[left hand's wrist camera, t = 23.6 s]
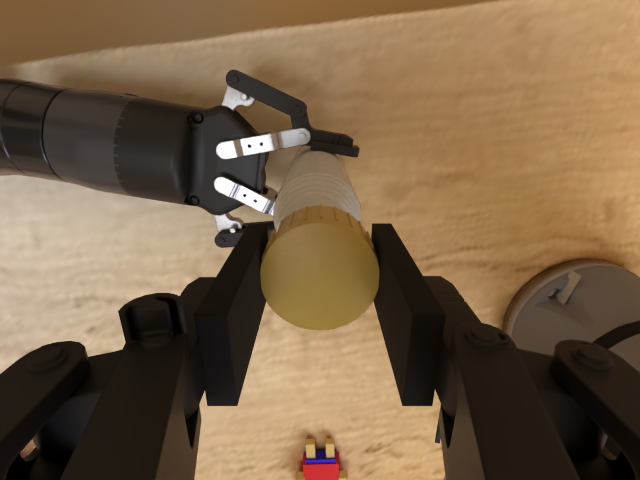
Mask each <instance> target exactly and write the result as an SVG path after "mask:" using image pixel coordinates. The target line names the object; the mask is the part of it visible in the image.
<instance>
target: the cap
mask: <svg viewBox="0 0 640 480" xmlns="http://www.w3.org/2000/svg"><path fill="white" fill-rule="evenodd" d="M379 273H380V269H379V264H378V259H377V256H376V253H375V251H374V246H373V243H372V241H371V238H370V235H369V233H368V231H367V232H366V231H365V229H364V227H363V226H362V224H361V222H360V221H358V220H356V219H355V218H354V217H353V216H351V215H350V213H349V212H348V213H347V212H345V211H343V210H340V209H338V208H337V207H330V206H322V205H320V206H310V207H307V206H305V208H302V209H299V210H297V211H295V212H294V211H293V212H292V213H291V214H290V215H288V216H287V217H286V218H284V219H283V220H282V219H281V220H280V223H279V224H278V226H277V227H276V229H275V230H273V231H272V233H271V235H270V238H269V241H268V243H267V245H266V248H265V251H264V253H263V256H262V263H261V268H260V277H261V289H262V292H263V295H264V297H265V299H266V301H267V303H268V304H269V306H270V307H271V308H272V309H273V311H274V312H276V313H277V314H278V315H279V316H280V317H281V318H283V319H284V320H286V321H287V322H289V323H291V324H293V325H296V326H298V327H302V328H305V329H311V330H329V329H334V328H338V327H342V326H344V325H347V324H349V323H351V322H352V321H354V320H356V319H357V318H358V317H360V316H361V315H362V314H363V313H364V312H365V311H366V310H367V309H368V308H369V307H370V305H371V304H372V302H373V301H374V299H375V296H376V294H377V291H378V287H379Z"/></svg>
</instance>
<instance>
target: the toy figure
mask: <svg viewBox="0 0 640 480" xmlns="http://www.w3.org/2000/svg"><path fill="white" fill-rule="evenodd" d="M296 480H348V477H347V470H339V456H338V452H335V450H334V438H327V439H326V450H315V439H306V453H303V472H296Z"/></svg>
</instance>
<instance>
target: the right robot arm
mask: <svg viewBox="0 0 640 480" xmlns="http://www.w3.org/2000/svg"><path fill="white" fill-rule="evenodd" d="M226 82H227V84H228V86H227V90H226V93H225V96H224V99H223V102H222V105H221V106H216V107H213V108H210V109H202V108H196V107H191V106H185V105H180V104H174V103H168V102H163V101H157V100H152V99H146V98H140V97H138V96H135V95H132V94H118V93H113V92H106V91H92V90H77V89H70V88H65V87H59V86H53V85H48V84H42V83H37V82H32V81H26V80H19V79H9V78H5V79H0V176H4V175H24V176H31V177H37V178H43V179H49V180H56V181H62V182H69V183H73V184H78V185H81V186H84V187H88V188H91V189H95V190H98V191H103V192H109V193H115V194H122V195H128V196H134V197H140V198H146V199H153V200H159V201H165V202H171V203H177V204H183V205H191V206H198V207H201V208H203V209H205V210H206V211H207V212H209V213H211V214H213V215H214V216H215V221H216V225H217V230H218V234H217V236H216V237H215V243H216V245H217V246H219V247H222V248H224V247H235V245H236V244H237V242H238V240H239V239H240V237H241V236H242V234H243V232H244V231H245V229H246V227H247V226H248V224H268V241H269V238H270V235H271V233H272V231H273V230H275V225H274V221H265V222H253V223H243V221H242V220H241V219H240V218H235V217H232V216H231V215H230V214H229V213H228V212H230V211H232V210H234V209H236V208H238V207H240V206H242V205H244V204H246V205H248V206H250V207H252V208H254V209H256V210H258V211H260V212H262V213H265V214H270V215H272V216H273V209H274V204H275V201H276V198H277V196H278V194H279V193H277V191H275V190H274V189H272V188H270V187H268V186H266V185H265V182H266V174H265V165H266V163H267V160H268V156H269V151H274V150H278V149H282V148H287V147H293V146H299V145H306V146H311V147H310V149H311V150H316V151H323V152H328V153H334V154H339V155H345V156H351V157H358V153H359V149H360V148H359V147H358V146H356V145H352V144H353V139H352V138H350V137H349V136H347V135H345V134H340V133H334V132H328V131H323V130H317V129H314V128H313V127H311V125H310V124H309V121H308V115H307V107H306V104H305V103H304V102H302V101H300V100H298V99H296V98H294V97H292V96H290V95H288V94H286V93H284V92H281V91H279V90H277V89H275V88H273V87H271V86H269V85H267V84H265V83H263V82H261V81H259V80H257V79H255V78H253V77H250V76H248V75H246V74H244V73H242V72H239V71H237V70H231V71H229V72H228V73H227V75H226ZM256 100H258V101H260V102H262V103H265V104H267V105H269V106H271V107H273V108H275V109H277V110H279V111H281V112H284V113H286V114H288V115H290V116H291V121H292V126H293V128H288V129H282V130H275V131H269V132H264V133H258V132H257V131H256V130H255V129H254V128H253V127H252V126H251V125H250V124H249V123H248V122H247V121H246V120H245V119H244V118H243V117H242V116H241V115H240V114H239V113H238V112H237V111H236V109H237V107H238V106H240V105H244V106H251V105H253V104H254V103H255V101H256ZM255 199H256V200H257V201H255Z"/></svg>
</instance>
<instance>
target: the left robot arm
mask: <svg viewBox="0 0 640 480" xmlns="http://www.w3.org/2000/svg"><path fill="white" fill-rule="evenodd" d="M371 241H372V243H373V246H374V251H375V253H376V256H377V259H378V264H379V269H380V273H379V287H378V291H377V294H376V296H375V299H374V304H375V308H376V311H377V315H378V319H379V322H380V326H381V330H382V333H383V337H384V340H385V344H386V348H387V351H388V355H389V359H390V362H391V366H392V369H393V373H394V377H395V380H396V384H397V388H398V391H399V395H400V398H401V402H402V406H432V404H433V397H434V391H435V390H436V392H437V395H438V397H439V400H440V402H441V407H440V413H439V420H438V426H437V432H436V438H435V443H440V439H441V443H442V451H443V459H444V467H445V477H444V480H640V278H639V277H638V276H636V275H635V274H633V273H631V272H630V271H628V270H626V269H624V268H622V267H620V266H618V265H616V264H614V263H611V262H608V261H604V260H598V259H581V260H574V261H569V262H566V263H562V264H560V265H557V266H554V267H552V268H550V269H548V270H546V271H544V272H542V273H541V274H539V275H538V276H536V277H535V278H534V279H532V280H531V281H530V282H529V283H527V284H526V285H525V286H524V287H523V288H522V289H521V290H520V291H519V293H518V294H517V295H516V296H515V298H514V299H513V301H512V303H511V304H510V306H509V308H508V311H507V313H506V316H505V320H504V326H503V331H502V330H500V329H498V328H496V327H493V326H491V325H488V324H484V323H481V322H480V320H479V319H478V318H477V316H476V315H475V314H474V312H473V311H472V309H471V308H470V307H469V305H468V304H467V303H466V302H464V299H463V297H462V296H461V295H460V294H459V292H458V291H457V289H456V288H455V287H454V285H453V284H452V283H450V282H449V281H447V280H446V279H444V278H442V277H441V276H423V275H422V274H421V272H420V271H419V269H418V267H417V266H416V264H415V262H414V261H413V259H412V257H411V256H410V254H409V252H408V251H407V249H406V247H405V246H404V244H403V243H402V241H401V239H400V238H399V236H398V234H397V233H396V231H395V229H394V228H393V226H392V224H372V237H371ZM267 243H268V224H248V226H247V227H246V229H245V231H244V232H243V234H242V236H241V237H240V239H239V240H238V242H237V244H236V245H235V247H234V249H233V250H232V252H231V254H230V255H229V257H228V259H227V260H226V262H225V264H224V265H223V267H222V268H221V270H220V272H219V273H218V275H217V277H199V278H198V279H196V280H195V281H193V282H191V283H190V284H188V285H187V286H186V288H185V289H184V291H183V292H182V293H181V296H177V295H175V294H171V293H155V294H149V295H145V296H142V297H139V298H136V299H134V300H132V301H130V302H128V303H127V304H125V305H124V306H123V307H122V308H121V309H120V310H119V311H118V312H119V316H120V320H121V324H122V329H123V333H124V337H125V341H126V343H125V346H124V348H123V350H119V351H115V352H111V353H106V354H101V355H96V356H91V357H88V356H87V352H86V349H85V346H83V345H82V344H81V343H79V342H74V341H65V342H56V343H51V344H48V345H44V346H42V347H40V348H38V349H36V350H34V351H31V352H29V353H28V354H26V355H25V356H23V357H22V358H20V359H19V360H17V361H16V362H15V363H14V364H12V365H11V366H10V367H9V368H7V369H6V370H5V371H4V372H3V373H1V374H0V480H194V477H195V468H196V460H197V452H198V443H199V435H200V427H201V414H200V407H199V403H200V401H201V398H202V396H203V393H204V391H205V392H206V399H207V406H237V405H238V401H239V398H240V394H241V390H242V387H243V383H244V379H245V376H246V372H247V369H248V365H249V361H250V358H251V354H252V350H253V347H254V343H255V340H256V336H257V332H258V329H259V325H260V321H261V318H262V314H263V311H264V307H265V303H266V299H265V297H264V295H263V292H262V289H261V277H260V268H261V263H262V256H263V253H264V251H265V248H266V245H267ZM32 439H33V441H34V443H35V446H36V447H35V449H34V450H33V451H32V452H31V453H30V454H29V455H28V456H27V457H26V458H24V459H23V458H22V457H21V455H20V452H21V451H22V450H23V449H24V448H25V446H26V445H27V444H28V443H29V442H30V441H31V440H32Z"/></svg>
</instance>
